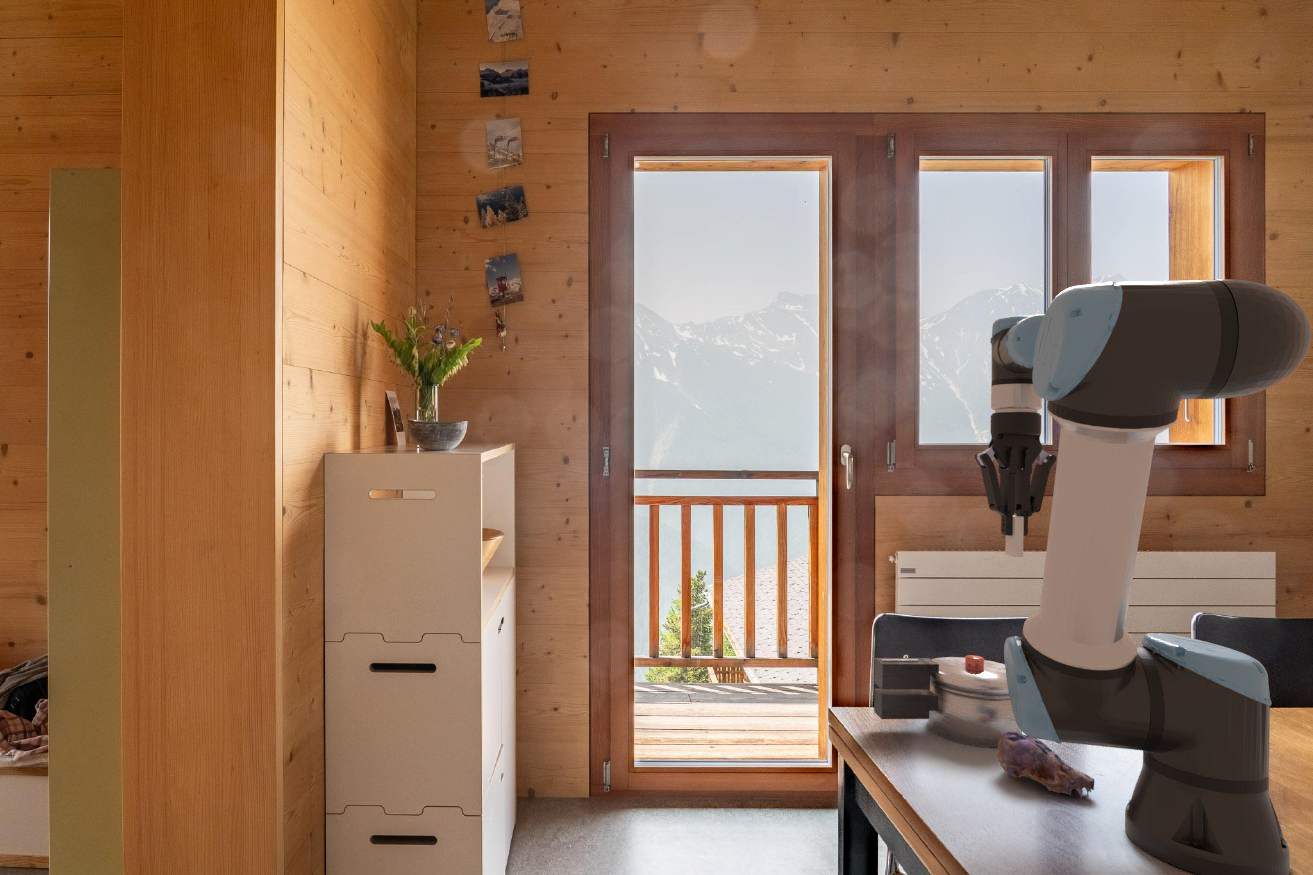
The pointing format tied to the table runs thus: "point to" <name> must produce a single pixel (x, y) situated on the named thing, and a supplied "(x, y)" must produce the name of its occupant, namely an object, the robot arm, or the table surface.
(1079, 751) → the table surface
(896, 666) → the lid
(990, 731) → the pot
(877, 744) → the table surface
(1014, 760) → the skull
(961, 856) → the table surface
